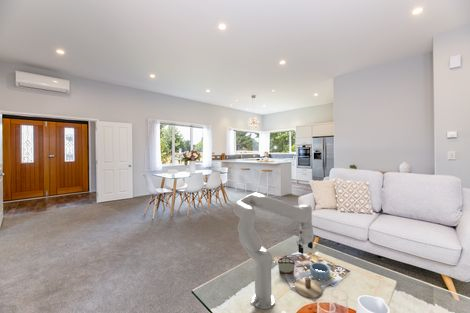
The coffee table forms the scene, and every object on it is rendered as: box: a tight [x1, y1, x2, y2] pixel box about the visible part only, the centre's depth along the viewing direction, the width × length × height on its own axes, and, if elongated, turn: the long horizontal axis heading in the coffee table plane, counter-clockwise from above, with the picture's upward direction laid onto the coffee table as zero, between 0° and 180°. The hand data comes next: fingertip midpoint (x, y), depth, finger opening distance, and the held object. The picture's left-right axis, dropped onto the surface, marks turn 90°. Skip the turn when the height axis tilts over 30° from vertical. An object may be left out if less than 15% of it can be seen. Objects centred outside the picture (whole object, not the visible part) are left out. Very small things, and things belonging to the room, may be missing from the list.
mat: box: [289, 286, 327, 303], centre depth 131 cm, size 16×16×1 cm
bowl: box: [309, 262, 331, 281], centre depth 144 cm, size 12×12×6 cm
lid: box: [294, 277, 323, 299], centre depth 131 cm, size 16×16×6 cm
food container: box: [277, 256, 296, 275], centre depth 149 cm, size 12×6×10 cm, turn 84°
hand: (305, 250), depth 135 cm, fingers open, 9 cm apart
